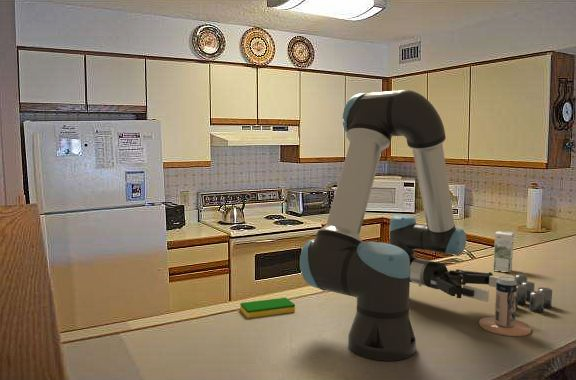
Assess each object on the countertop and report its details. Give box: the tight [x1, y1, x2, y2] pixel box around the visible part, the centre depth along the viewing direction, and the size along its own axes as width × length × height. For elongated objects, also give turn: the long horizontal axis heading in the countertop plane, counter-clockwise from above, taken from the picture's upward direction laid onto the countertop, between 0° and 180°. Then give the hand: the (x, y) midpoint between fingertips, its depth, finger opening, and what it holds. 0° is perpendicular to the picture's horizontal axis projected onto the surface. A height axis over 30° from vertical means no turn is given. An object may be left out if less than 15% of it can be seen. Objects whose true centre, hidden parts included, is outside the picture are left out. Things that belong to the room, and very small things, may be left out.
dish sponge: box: [239, 297, 296, 319], centre depth 135 cm, size 7×14×2 cm, turn 112°
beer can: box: [494, 276, 517, 327], centre depth 123 cm, size 5×5×12 cm
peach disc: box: [479, 316, 532, 337], centre depth 124 cm, size 12×12×1 cm
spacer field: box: [514, 273, 553, 314], centre depth 143 cm, size 15×26×5 cm, turn 131°
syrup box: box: [493, 230, 515, 273], centre depth 179 cm, size 6×6×14 cm
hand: (501, 291), depth 124 cm, fingers open, 13 cm apart
